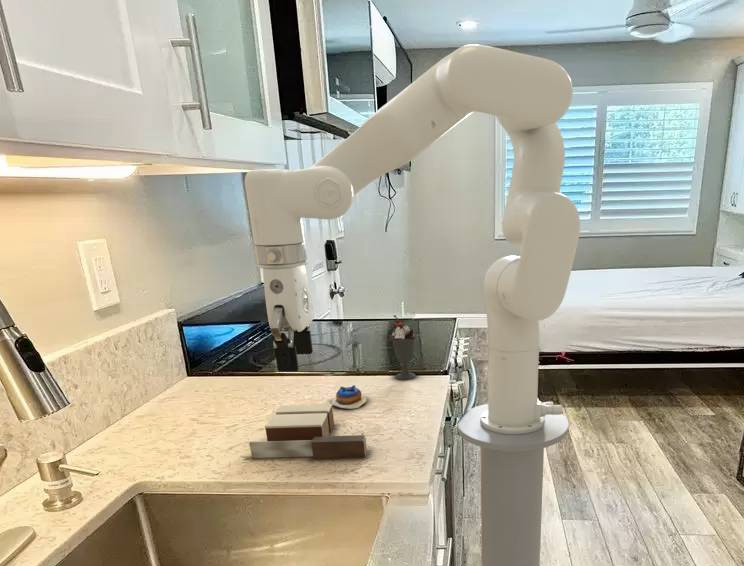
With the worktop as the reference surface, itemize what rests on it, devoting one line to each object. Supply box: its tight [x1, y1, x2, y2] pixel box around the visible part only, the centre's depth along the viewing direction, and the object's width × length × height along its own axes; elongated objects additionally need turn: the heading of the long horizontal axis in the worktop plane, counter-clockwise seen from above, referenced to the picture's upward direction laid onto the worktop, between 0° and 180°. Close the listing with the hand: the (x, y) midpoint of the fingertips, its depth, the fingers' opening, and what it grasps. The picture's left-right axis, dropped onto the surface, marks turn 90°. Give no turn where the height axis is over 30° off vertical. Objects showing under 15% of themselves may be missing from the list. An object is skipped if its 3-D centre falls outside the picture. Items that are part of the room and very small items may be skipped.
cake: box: [264, 413, 331, 441], centre depth 104 cm, size 10×6×5 cm, turn 90°
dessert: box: [330, 385, 367, 410], centre depth 123 cm, size 8×7×6 cm
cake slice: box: [275, 403, 335, 434], centre depth 109 cm, size 10×4×5 cm, turn 90°
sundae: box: [388, 314, 418, 381], centre depth 136 cm, size 7×7×15 cm
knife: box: [248, 434, 368, 460], centre depth 99 cm, size 20×2×3 cm, turn 90°
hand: (296, 362), depth 94 cm, fingers open, 9 cm apart
